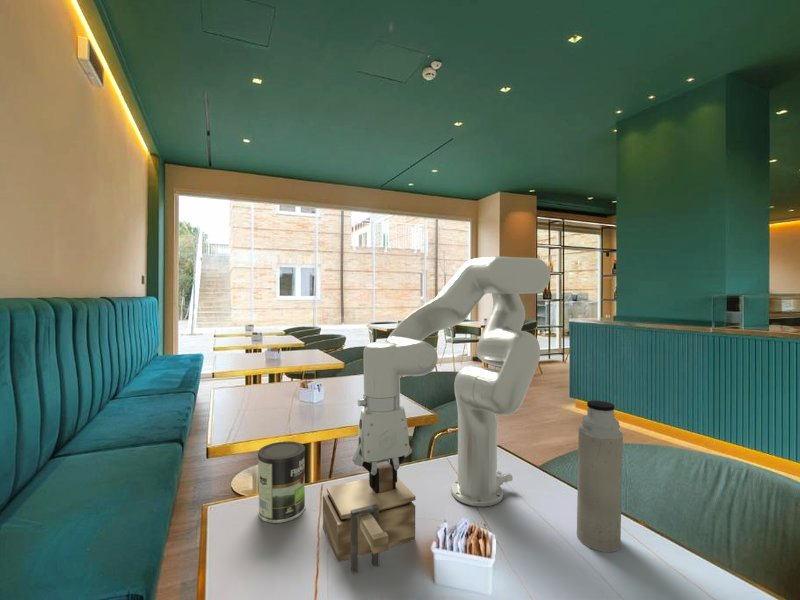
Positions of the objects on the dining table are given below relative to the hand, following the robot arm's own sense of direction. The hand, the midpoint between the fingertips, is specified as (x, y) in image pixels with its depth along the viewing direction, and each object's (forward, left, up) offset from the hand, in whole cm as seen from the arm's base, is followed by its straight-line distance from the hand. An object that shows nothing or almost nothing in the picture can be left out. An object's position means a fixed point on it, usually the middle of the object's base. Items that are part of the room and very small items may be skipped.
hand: (383, 487), depth 85 cm
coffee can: (+19, -16, -9) cm, 26 cm away
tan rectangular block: (+7, +13, -1) cm, 15 cm away
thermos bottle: (-38, +21, -9) cm, 45 cm away
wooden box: (+3, +2, -9) cm, 10 cm away
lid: (+3, 0, -2) cm, 4 cm away
